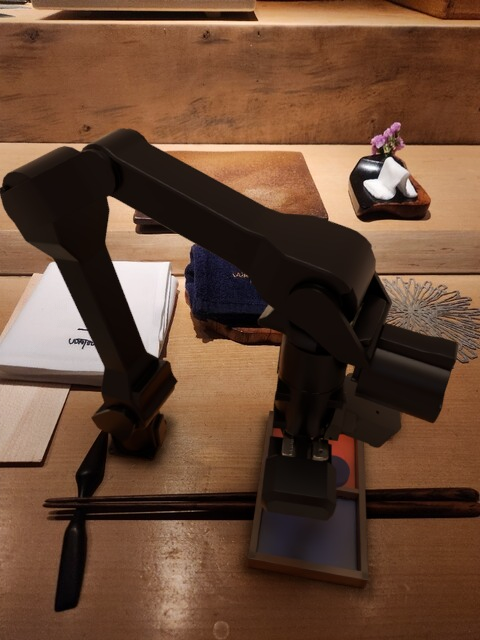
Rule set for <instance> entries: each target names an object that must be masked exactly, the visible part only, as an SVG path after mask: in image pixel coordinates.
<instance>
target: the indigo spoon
mask: <svg viewBox="0 0 480 640" xmlns="http://www.w3.org/2000/svg"><path fill="white" fill-rule="evenodd" d="M267 456H268V454H267V455H266V457H265V462H266V458H268V457H267ZM332 466H334V467H335V468H336V488H338V487H342V486H343V485H345V484H346V483H347V481H348V478H349V475H350V468H349V465H348V464H347V462H346V461H345V460H344V459H342V458H341V457H339V456H335V455H332Z"/></svg>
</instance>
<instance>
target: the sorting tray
mask: <svg viewBox="0 0 480 640" xmlns="http://www.w3.org/2000/svg"><path fill="white" fill-rule="evenodd" d="M273 417H274V411H273V410H269V411H268V417H267V425H266V431H265V437H264V438H265V439H264V445H263V452H262V459H261V466H260V472H259V478H258V487H257V494H256V500H255V506H254V514H253V520H252V527H251V533H250V534H251V535H250V541H249V547H248V554H247V564H246V566H247V568H250V569H256V570H261V571H267V572H273V573H278V574H283V575H288V576H293V577H300V578H305V579H309V580H316V581H321V582H325V583H332V584H337V585H343V586H346V587H347V586H348V587H351V588H352V587H354V588H358V589H365V588H366V586H367V584H368V583H369V579H370V578H369V577H370V576H369V555H368V553H369V552H368V551H369V550H368V528H367V526H368V525H367V523H368V522H367V500H366V475H365V473H366V471H365V447H364V446H365V445H364V443H365V442H362V441H359V440H357V439H354V438H351V437H348V436H346V435H344V434H343V433H342V432H340V435H339V439H338V441H332V440H329V444H332V445H334V446H337V447H338V448H340V449H341V450H342V451H343V453H344V455H345V461H346V462H347V464H348V465H349V468H350V475H349V478H348V481H347V483H346V484H345V485H343V486H342V487H338V488H336V495H337V496H336V497H337V505H336V508H335V511H334V514H333V516H332V517H331V518H329V519H328V520H327V521H324V520H317V519H311V518H304V517H298V516H292V515H285V514H279V513H272V512H266V510H265V509H264V508H263V507H262V505H261V495H262V486H263V478H264V470H265V457H266V455H267V454H268V448H269V440H270V436H276V437H283V435H282V432H281V430H280V429H277V428H272V426H273ZM312 439H313V438H312ZM338 496H343V497H338ZM344 497H346V498H344ZM350 498H352V499H350Z"/></svg>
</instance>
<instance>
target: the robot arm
mask: <svg viewBox="0 0 480 640" xmlns="http://www.w3.org/2000/svg"><path fill="white" fill-rule="evenodd" d="M108 197H110V198H113V199H115V200H117V201H119V202H120V203H122V204H124V205H125V206H127V207H129V208H131V209H133V210H134V211H136V212H138V213H140V214H142V215H144V216H145V217H147V218H149V219H150V220H152V221H154V222H156V223H157V224H159V225H161V226H163V227H165V228H167V229H168V230H170V231H171V232H173V233H174V234H175V233H176V234H177V235H178V236H181V237H182V238H184V239H186V240H188V241H190V242H191V243H193V244H194V245H196V246H199V247H200V248H202V249H204V250H205V251H207V252H209V253H211V254H212V255H214V256H216V257H218V258H220V259H222V260H223V261H225V262H227V263H228V264H230V265H232V266H233V267H235V268H236V269H238V270H239V271H240V272H242V273H243V274H244V275H246V276H247V278H248V279H249V281H250V282H251V284H252V286H253V287H254V289H255V291H256V292H257V294H258V295H259V298H261V300H262V301H263V302H264V303H265V304H267V306H266V307H265V309H264V310H263V312H262V313H261V315H260V316H259V318H257V324H258V325H259V326H260V327H263V328H265V329H268V330H272V331H275V332H277V333H280V334H282V338H281V344H280V345H279V352H278V360H277V366H276V374H277V382H276V388H275V389H276V390H275V393H274V400H273V407H272V408H273V409H272V411H274V417H273V426H272V428H277V429H280V430H281V432H282V435H283V437H276V436H270V440H269V448H268V456H267V457H268V458H266V462H265V470H264V478H263V486H262V495H261V505H262V507H263V508H264V509H265V510H266V512H272V513H279V514H285V515H292V516H298V517H304V518H311V519H317V520H324V521H327V520H328V519H329V518H331V517H332V516H333V514H334V511H335V508H336V505H337V497H336V468H335V467H334V466H332V444H329V440H332V441H338V439H339V435H340V432H342V433H343V434H344V435H346V436H348V437H351V438H354V439H357V440H359V441H362V442H364V443H365V444H368V446H370V447H372V448H375V449H379V448H381V447H382V446H383V445H384V444H385V443H387V442H388V441H390V439H392V438H393V437H394V436H395V435H397V433H398V432H400V431H401V429H402V417H401V418H400V412H402V414H405V415H408V416H409V417H412V418H416V419H419V420H422V421H425V422H427V423H430V424H435V422H436V421H437V420H438V418H439V417H440V414H441V412H442V409H443V405H444V399H445V394H446V390H447V388H448V385H449V382H450V378H451V374H452V371H453V369H454V367H455V364H456V362H457V357H458V351H459V348H460V347H459V345H460V344H459V343H458V342H457V341H455V340H452V339H449V338H445V337H441V336H433V335H429V334H428V335H427V334H425V333H421V332H418V331H414V330H412V329H408V328H405V327H401V326H398V325H394V324H391V323H388V322H387V320H388V316H389V313H390V311H391V308H392V305H393V301H392V298H391V297H390V295H389V293H388V291H387V289H386V287H385V285H384V284H383V282H382V280H381V278H380V276H379V274H378V272H377V271H376V269H377V267H376V265H377V260H376V257H375V254H374V250H373V249H372V248H373V245H372V243H371V242H370V241H369V239H368V238H367V237H366V236H364V235H363V234H362V233H361V232H359V231H358V230H355V229H353V228H351V227H348V226H345V225H343V224H339V223H337V222H334V221H331V220H328V219H326V218H323V217H319V216H317V215H313V214H301V213H285V212H281V211H278V210H275V209H274V208H273V209H272V208H270V207H267V206H265V205H263V204H262V203H261V202H258V201H256V200H255V199H253V198H250V197H249V196H247V195H246V194H243V193H241V192H240V191H238V190H236V189H234V188H232V187H230V186H228V185H227V184H225V183H223V182H221V181H219V180H217V179H216V178H213V177H212V176H210V175H208V174H207V173H204V172H203V171H201V170H199V169H197V168H196V167H193V166H192V165H190V164H188V163H186V162H185V161H182V160H180V159H178V157H175V156H174V155H171V154H170V153H168V152H166V151H164V150H162V149H161V148H159V147H157V146H155V145H153V144H152V143H149V141H148V140H147V138H146V137H145V135H143V134H141V132H139V131H138V130H136V129H133V128H130V127H129V128H126V127H121V128H120V127H119V128H116V129H114V130H112V131H110V132H108V133H107V134H105V135H103V136H101V137H99V138H97V139H95V140H93V141H92V142H90V143H88V144H86V145H85V146H84V147H82V149H81V150H78V149H76V148H75V147H73V146H67V145H63V146H59V147H57V148H55V149H53V150H51V151H49V152H47V153H45V154H43V155H40V156H39V157H37V158H35V159H33V160H31V161H29V162H27V163H25V164H22V165H21V166H19V167H17V168H15V169H13V170H11V171H9V172H7V173H6V174H5V175H4V176H3V178H2V183H1V186H0V200H1V205H2V207H3V210H4V211H5V213H6V216H8V218H9V219H10V220H11V221H12V222H13V224H14V225H15V227H16V229H17V230H18V231H19V233H20V235H21V236H22V238H23V239H24V241H25V242H26V243H27V244H29V245H31V246H33V247H34V248H36V249H37V250H39V251H40V252H42V253H43V254H45V255H47V256H48V257H50V258H52V260H53V261H54V262H55V265H56V266H57V269H58V271H59V273H60V275H61V277H62V279H63V282H64V284H65V286H66V288H67V290H68V293H69V294H70V297H71V299H72V301H73V303H74V305H75V308H76V310H77V312H78V314H79V316H80V318H81V320H82V322H83V325H84V326H85V327H84V328H86V331H87V333H88V335H89V338H90V339H91V342H92V343H93V346H94V349H95V351H96V352H97V355H98V357H99V359H100V362H101V363H102V365H103V375H102V381H101V388H100V393H101V397H102V401H103V403H102V404H101V405H100V406H99V407H98V408H97V410H96V411H95V412H94V413H93V415H91V417H90V418H91V420H92V422H93V424H94V425H95V427H96V428H97V429H99V430H100V431H102V432H105V433H106V434H109V435H110V438H111V441H110V443H109V446H108V448H107V452H108V454H109V455H113V456H119V457H125V458H131V459H137V460H143V461H148V462H153V461H155V459H156V456H157V453H158V451H159V448H161V447H162V446H163V442H164V440H165V438H166V435H167V423H168V422H167V419H165V415H164V413H162V412H161V411H160V410H161V408H163V406H164V404H166V403H167V400H168V399H169V398H170V396H171V395H172V394H173V392H174V391H175V389H176V385H177V384H178V382H179V381H178V380H177V378H176V377H175V375H174V373H173V370H172V364H171V362H170V361H169V360H166V359H161V358H159V357H158V356H156V355H154V354H152V353H150V352H148V351H147V349H146V347H145V344H144V341H143V339H142V337H141V333H140V331H139V328H138V326H137V323H136V321H135V318H134V316H133V312H132V309H131V308H130V304H129V302H128V299H127V296H126V294H125V291H124V289H123V287H122V283H121V281H120V278H119V276H118V273H117V270H116V267H115V265H114V262H113V259H112V256H111V254H110V252H109V250H108V246H107V243H106V239H107V233H108V226H109V219H110V218H109V217H110V211H111V210H110V209H111V208H110V204H109V200H108ZM348 365H349V366H352V367H353V366H355V367H354V369H353V371H352V372H349V373H347V370H348ZM312 438H313V439H312Z"/></svg>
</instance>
